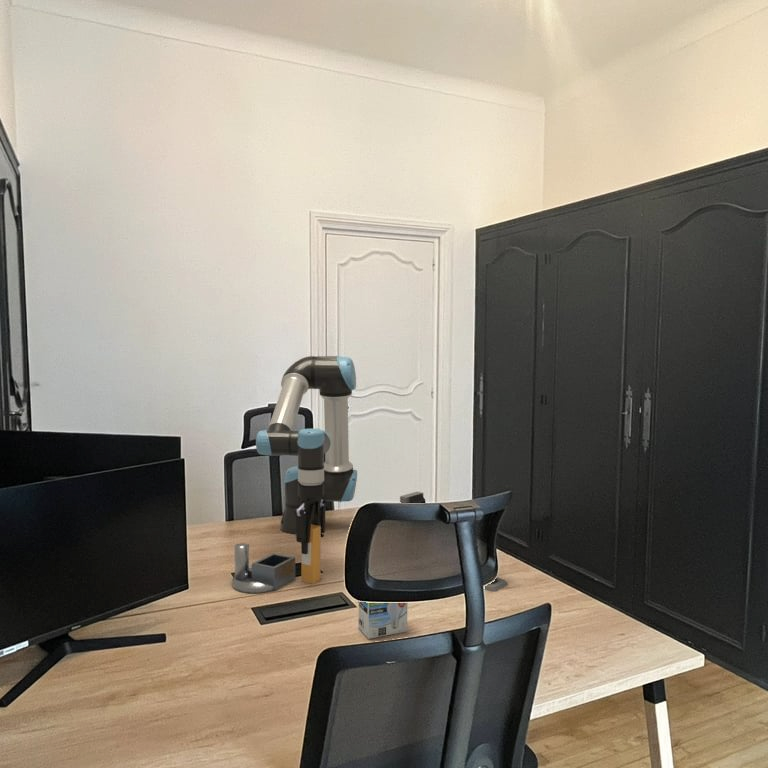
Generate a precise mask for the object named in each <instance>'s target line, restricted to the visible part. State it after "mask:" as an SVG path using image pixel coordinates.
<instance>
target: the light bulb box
mask: <svg viewBox="0 0 768 768" xmlns="http://www.w3.org/2000/svg"><path fill="white" fill-rule="evenodd" d="M408 604H409V603H366V602H359V601H358V622H357V623H358V626H357V627H358V629H359V630H360V631H361V633H363V635H364V636H365V637H366V638H367V639H368V640H370V639H371V640H372V639H375V638H376V639H377V638H380V637H381V638H382V637H386V636H390V635H396V634H401V633H402V634H403V633H407V632H408Z"/></svg>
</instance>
